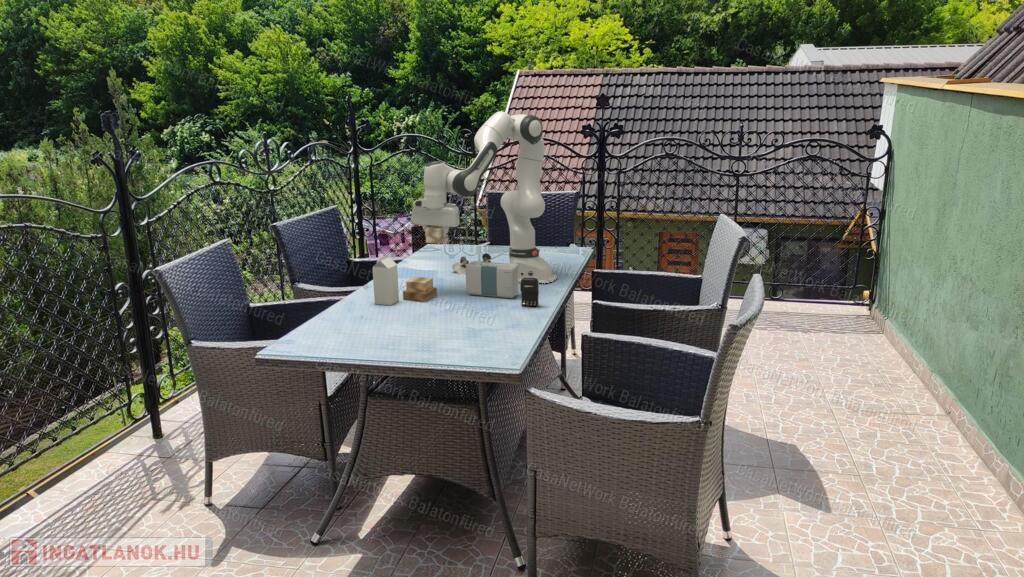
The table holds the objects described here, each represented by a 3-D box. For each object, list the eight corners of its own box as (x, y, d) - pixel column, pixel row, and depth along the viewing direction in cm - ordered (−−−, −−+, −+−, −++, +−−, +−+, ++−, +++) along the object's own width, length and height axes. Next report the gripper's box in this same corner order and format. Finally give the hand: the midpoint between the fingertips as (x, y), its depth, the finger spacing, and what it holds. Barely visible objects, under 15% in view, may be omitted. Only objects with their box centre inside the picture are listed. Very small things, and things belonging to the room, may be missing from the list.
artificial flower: (495, 269, 334) (497, 251, 329) (459, 283, 320) (460, 264, 315) (483, 262, 339) (485, 244, 334) (447, 275, 326) (448, 256, 320)
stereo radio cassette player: (465, 295, 283) (464, 248, 278) (473, 290, 291) (472, 244, 285) (513, 300, 276) (512, 251, 271) (520, 295, 283) (519, 247, 278)
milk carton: (399, 301, 276) (396, 254, 271) (390, 305, 270) (387, 258, 265) (383, 299, 278) (380, 253, 274) (374, 304, 272) (371, 257, 267)
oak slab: (433, 287, 282) (432, 278, 281) (424, 292, 274) (424, 282, 273) (415, 286, 284) (415, 276, 283) (406, 291, 277) (406, 281, 276)
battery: (519, 307, 266) (519, 278, 263) (522, 304, 270) (521, 276, 267) (537, 308, 264) (537, 279, 261) (539, 305, 268) (539, 276, 265)
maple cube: (446, 241, 281) (445, 226, 280) (439, 243, 276) (438, 228, 274) (433, 240, 283) (432, 225, 282) (425, 242, 278) (425, 227, 277)
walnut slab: (437, 297, 283) (436, 287, 282) (425, 303, 274) (424, 293, 273) (415, 294, 287) (415, 285, 286) (403, 301, 278) (402, 291, 277)
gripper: (462, 203, 275) (462, 237, 278) (417, 200, 282) (418, 233, 286) (454, 204, 269) (455, 239, 272) (409, 201, 277) (410, 235, 280)
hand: (435, 236), depth 279 cm, fingers closed on maple cube, 6 cm apart
